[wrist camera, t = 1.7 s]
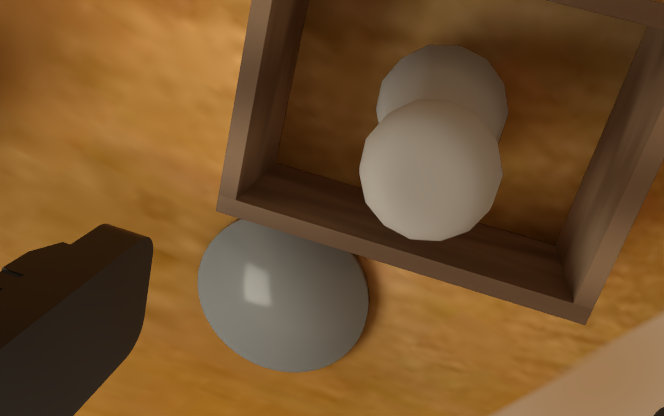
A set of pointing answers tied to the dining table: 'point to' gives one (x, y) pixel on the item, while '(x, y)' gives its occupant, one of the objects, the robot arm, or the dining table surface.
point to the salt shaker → (435, 143)
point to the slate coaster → (282, 297)
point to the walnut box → (481, 241)
